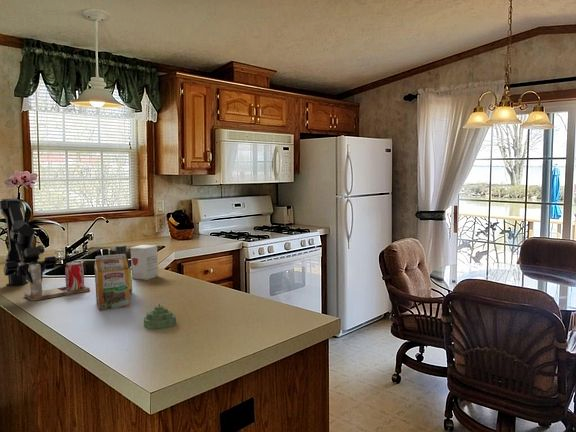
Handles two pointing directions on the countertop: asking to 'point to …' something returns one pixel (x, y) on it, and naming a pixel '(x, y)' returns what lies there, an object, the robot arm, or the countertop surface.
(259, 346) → the countertop surface
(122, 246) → the sauce bottle
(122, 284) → the food package
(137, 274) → the supplement box
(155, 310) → the decorative artifact
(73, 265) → the soda can
